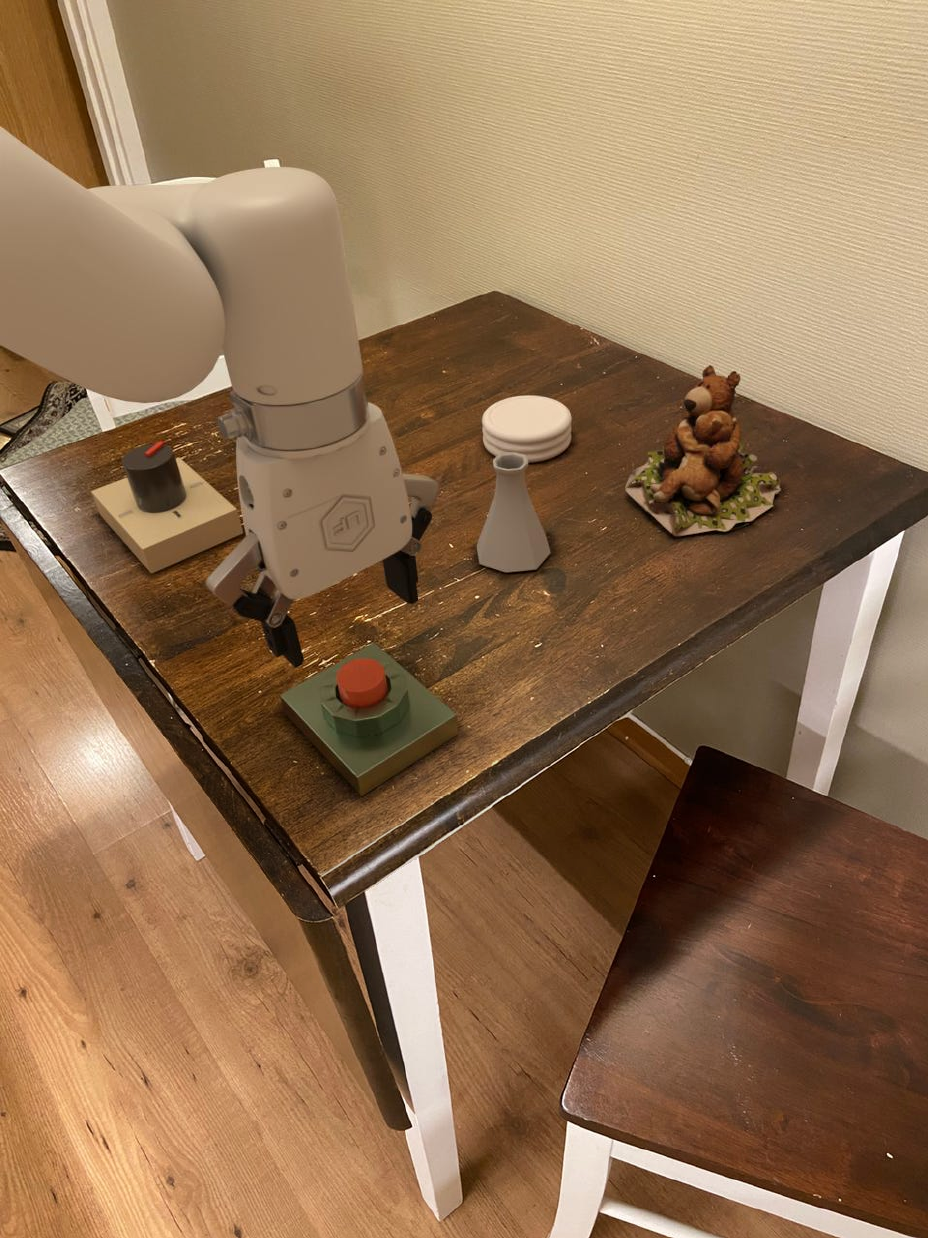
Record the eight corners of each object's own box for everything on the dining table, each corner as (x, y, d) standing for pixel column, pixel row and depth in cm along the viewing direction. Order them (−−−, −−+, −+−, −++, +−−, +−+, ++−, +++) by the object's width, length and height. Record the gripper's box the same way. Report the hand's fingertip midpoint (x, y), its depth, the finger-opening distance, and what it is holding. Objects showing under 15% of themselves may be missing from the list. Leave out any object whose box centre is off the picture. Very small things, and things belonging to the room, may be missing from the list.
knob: (167, 516, 87) (151, 470, 84) (126, 508, 89) (109, 462, 86) (196, 490, 91) (182, 444, 87) (156, 483, 92) (141, 437, 89)
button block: (284, 714, 70) (274, 678, 67) (377, 661, 74) (371, 625, 71) (361, 797, 63) (353, 760, 61) (459, 734, 67) (455, 697, 65)
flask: (468, 571, 83) (461, 479, 76) (484, 527, 88) (479, 438, 81) (544, 578, 81) (543, 485, 75) (556, 533, 86) (557, 442, 80)
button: (330, 690, 67) (327, 673, 65) (370, 667, 68) (367, 651, 67) (357, 716, 64) (353, 699, 63) (397, 692, 66) (394, 675, 65)
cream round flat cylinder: (465, 441, 101) (463, 413, 99) (531, 412, 106) (531, 385, 103) (521, 474, 95) (520, 446, 93) (589, 443, 99) (590, 414, 97)
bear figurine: (597, 491, 92) (602, 382, 84) (704, 446, 97) (718, 339, 89) (690, 554, 83) (705, 438, 75) (802, 499, 88) (827, 386, 80)
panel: (99, 514, 94) (90, 489, 92) (186, 480, 99) (178, 455, 96) (151, 574, 85) (141, 547, 83) (243, 533, 90) (236, 507, 88)
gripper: (197, 485, 46) (267, 713, 57) (458, 376, 53) (474, 595, 64) (139, 435, 50) (215, 654, 61) (387, 341, 58) (414, 551, 69)
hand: (347, 624), depth 63 cm, fingers open, 9 cm apart
